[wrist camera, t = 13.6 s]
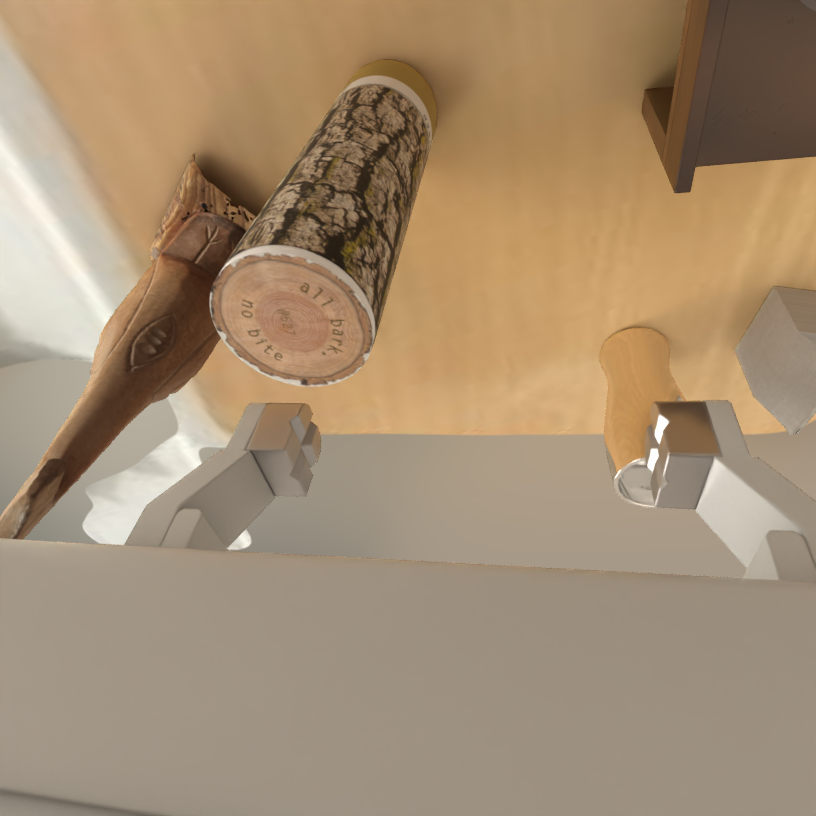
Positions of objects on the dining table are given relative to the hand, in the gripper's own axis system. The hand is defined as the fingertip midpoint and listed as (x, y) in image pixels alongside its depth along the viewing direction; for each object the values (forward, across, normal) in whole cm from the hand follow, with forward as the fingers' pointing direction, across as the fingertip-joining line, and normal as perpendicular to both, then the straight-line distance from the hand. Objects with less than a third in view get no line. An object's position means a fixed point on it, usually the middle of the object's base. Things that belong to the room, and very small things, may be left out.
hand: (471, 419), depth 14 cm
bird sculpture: (+33, +24, +12) cm, 43 cm away
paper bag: (+33, -22, +23) cm, 46 cm away
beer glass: (+33, -11, +26) cm, 44 cm away
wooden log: (+33, +8, +3) cm, 34 cm away
